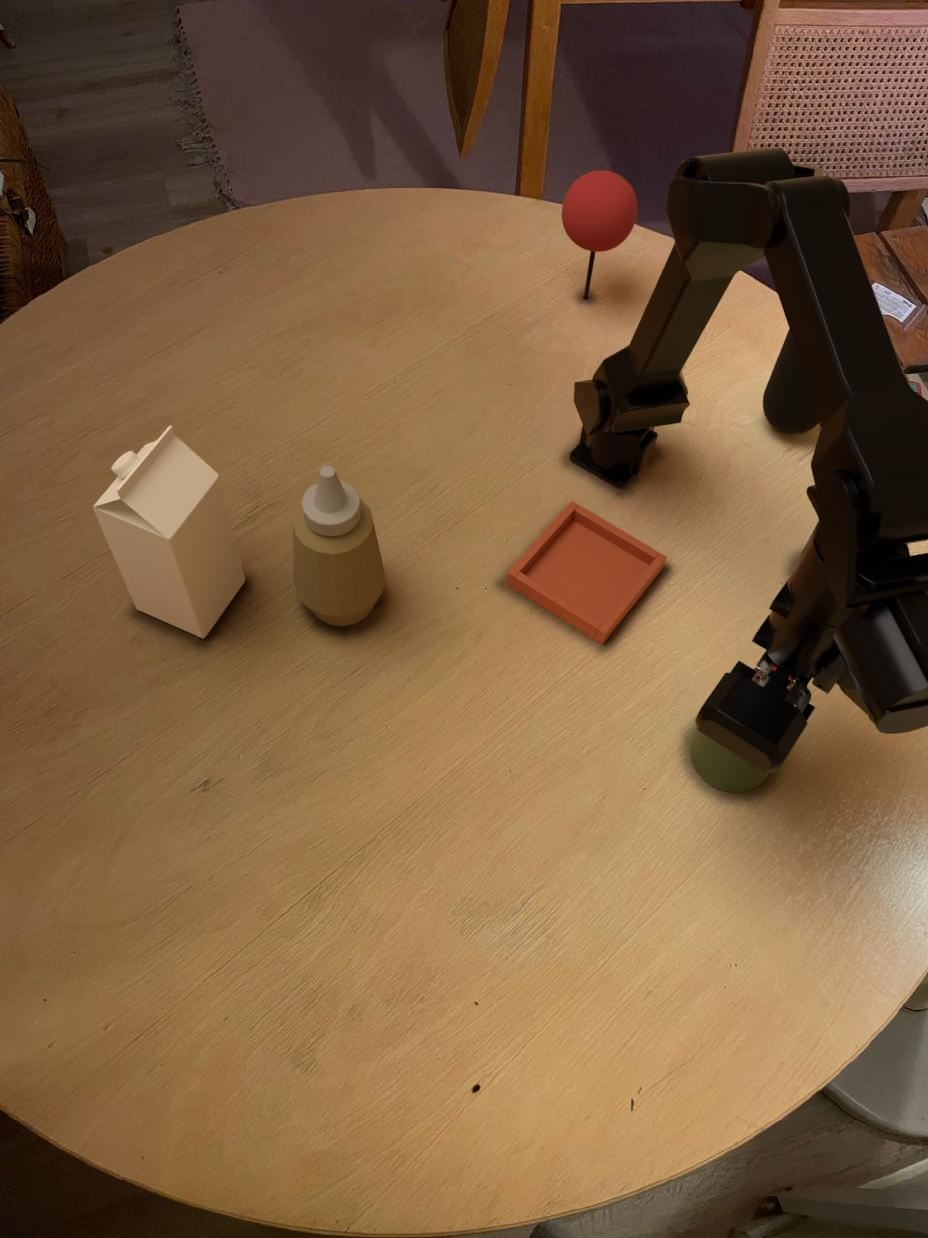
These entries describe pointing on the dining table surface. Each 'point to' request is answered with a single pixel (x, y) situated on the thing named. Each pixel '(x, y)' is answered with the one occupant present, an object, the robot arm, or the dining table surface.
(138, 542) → the milk carton
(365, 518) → the squeeze bottle
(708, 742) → the bottle
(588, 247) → the lollipop
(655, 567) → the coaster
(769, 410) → the decorative object
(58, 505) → the dining table surface
